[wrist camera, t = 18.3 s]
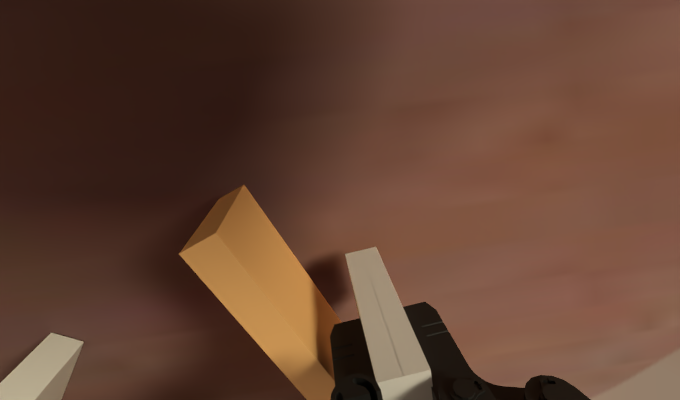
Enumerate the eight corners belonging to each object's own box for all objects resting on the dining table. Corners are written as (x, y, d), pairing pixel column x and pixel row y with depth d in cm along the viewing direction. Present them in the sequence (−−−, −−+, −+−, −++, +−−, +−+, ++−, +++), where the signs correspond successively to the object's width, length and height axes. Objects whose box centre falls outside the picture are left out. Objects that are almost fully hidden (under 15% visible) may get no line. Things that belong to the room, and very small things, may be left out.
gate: (206, 205, 13) (143, 285, 8) (256, 177, 13) (226, 238, 8) (402, 457, 20) (438, 588, 15) (437, 440, 20) (486, 567, 14)
